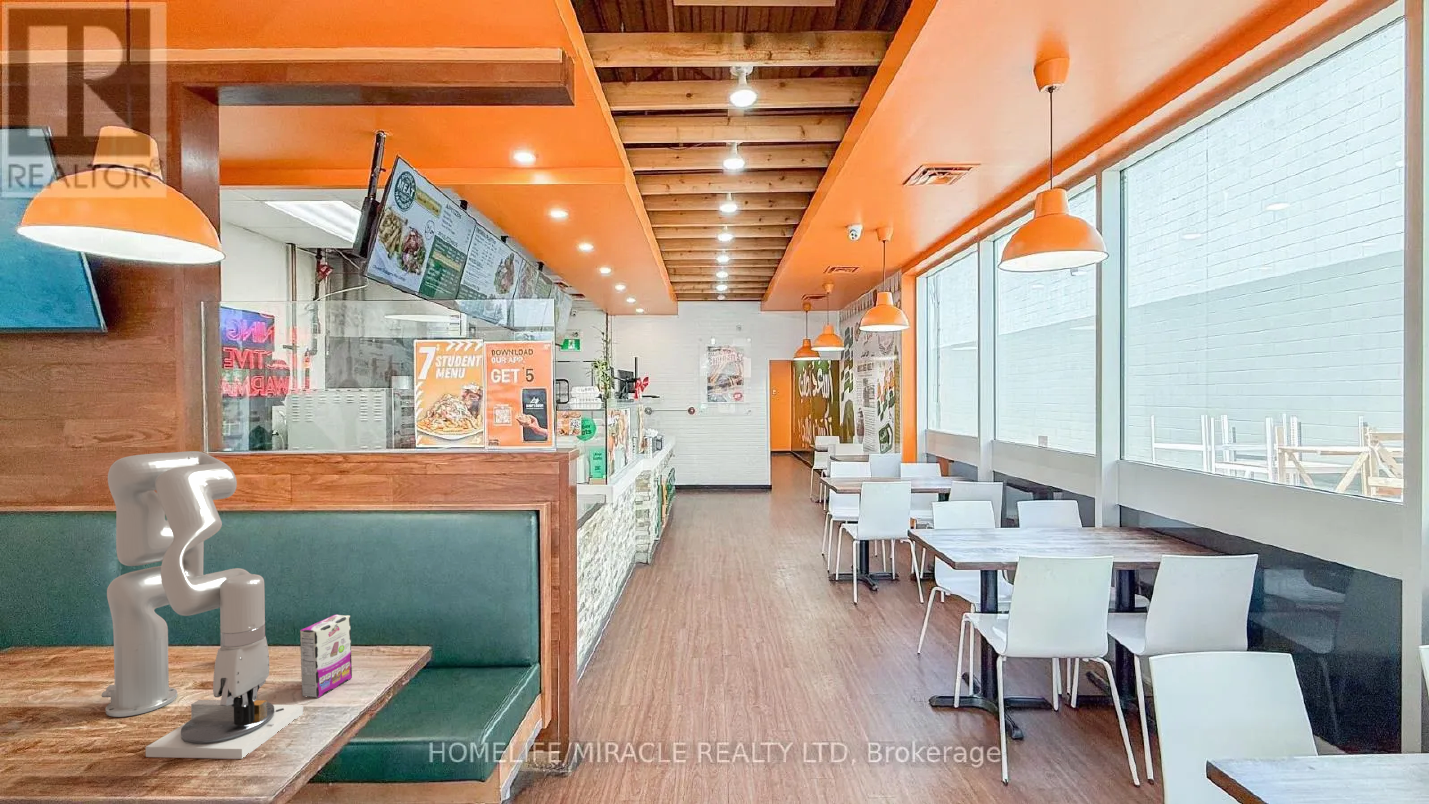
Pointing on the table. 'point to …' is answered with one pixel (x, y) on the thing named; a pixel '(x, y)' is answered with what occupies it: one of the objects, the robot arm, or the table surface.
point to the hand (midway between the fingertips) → (244, 722)
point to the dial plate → (229, 748)
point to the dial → (221, 721)
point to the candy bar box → (325, 655)
